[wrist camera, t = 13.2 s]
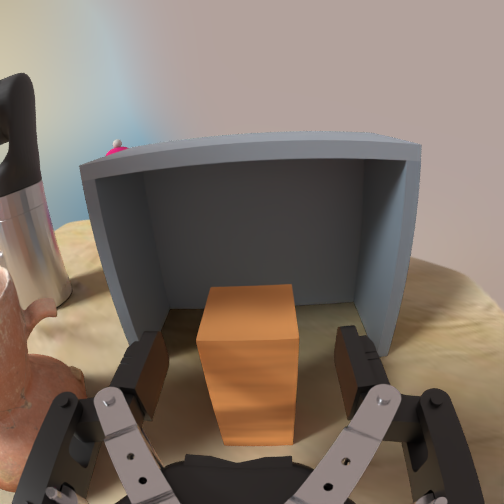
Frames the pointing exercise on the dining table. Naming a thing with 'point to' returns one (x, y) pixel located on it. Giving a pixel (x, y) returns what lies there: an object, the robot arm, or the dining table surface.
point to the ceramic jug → (26, 380)
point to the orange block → (251, 362)
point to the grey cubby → (256, 222)
